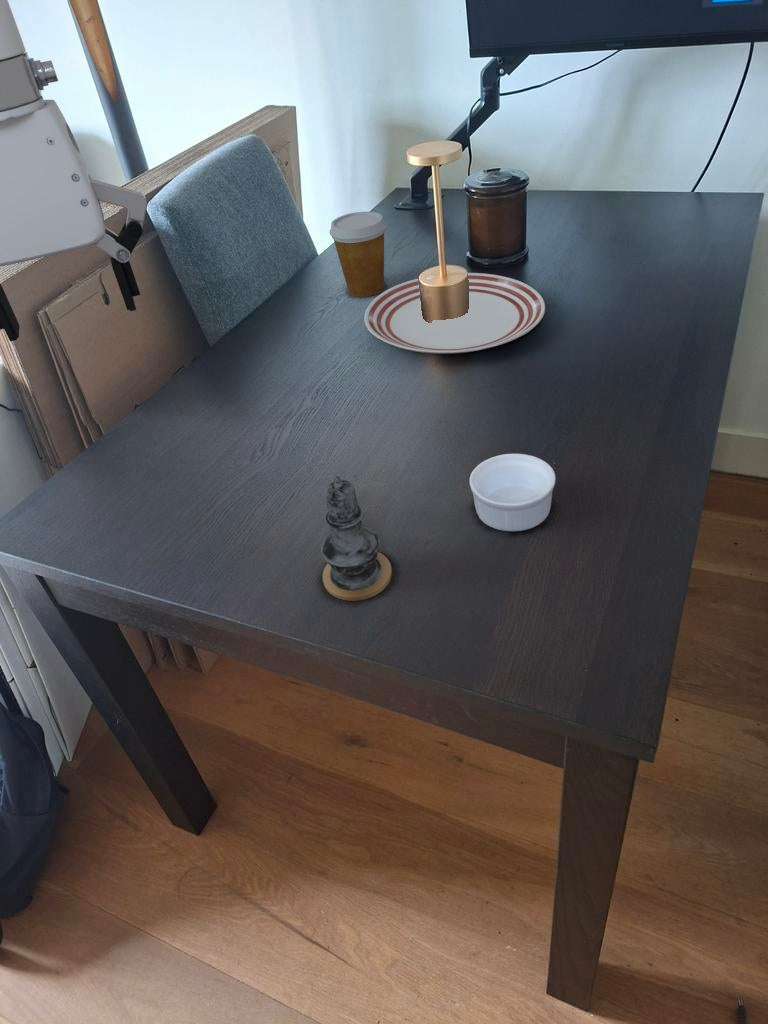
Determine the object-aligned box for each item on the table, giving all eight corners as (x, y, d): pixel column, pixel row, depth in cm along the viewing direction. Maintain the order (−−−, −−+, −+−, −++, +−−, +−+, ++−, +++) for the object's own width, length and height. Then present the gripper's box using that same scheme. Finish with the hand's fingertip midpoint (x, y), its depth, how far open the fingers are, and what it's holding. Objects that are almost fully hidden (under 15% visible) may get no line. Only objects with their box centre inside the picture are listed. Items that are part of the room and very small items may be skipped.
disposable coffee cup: (376, 274, 138) (367, 206, 130) (403, 289, 131) (395, 219, 124) (330, 289, 135) (318, 221, 127) (355, 306, 128) (344, 235, 120)
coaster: (335, 610, 73) (334, 605, 73) (315, 565, 79) (314, 561, 78) (402, 586, 75) (401, 582, 74) (378, 544, 80) (377, 540, 80)
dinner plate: (556, 290, 123) (557, 270, 121) (528, 374, 104) (528, 352, 101) (396, 288, 132) (394, 270, 130) (342, 365, 112) (338, 345, 110)
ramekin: (522, 548, 77) (522, 515, 74) (454, 516, 82) (452, 484, 79) (571, 502, 82) (572, 470, 79) (503, 475, 87) (503, 443, 84)
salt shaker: (395, 562, 77) (381, 466, 69) (363, 600, 73) (344, 503, 66) (348, 545, 80) (329, 451, 72) (315, 581, 76) (291, 486, 68)
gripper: (103, 63, 58) (169, 280, 68) (-140, 108, 54) (-30, 329, 65) (110, 76, 52) (181, 309, 63) (-161, 127, 49) (-37, 365, 59)
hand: (73, 319), depth 64 cm, fingers open, 9 cm apart
